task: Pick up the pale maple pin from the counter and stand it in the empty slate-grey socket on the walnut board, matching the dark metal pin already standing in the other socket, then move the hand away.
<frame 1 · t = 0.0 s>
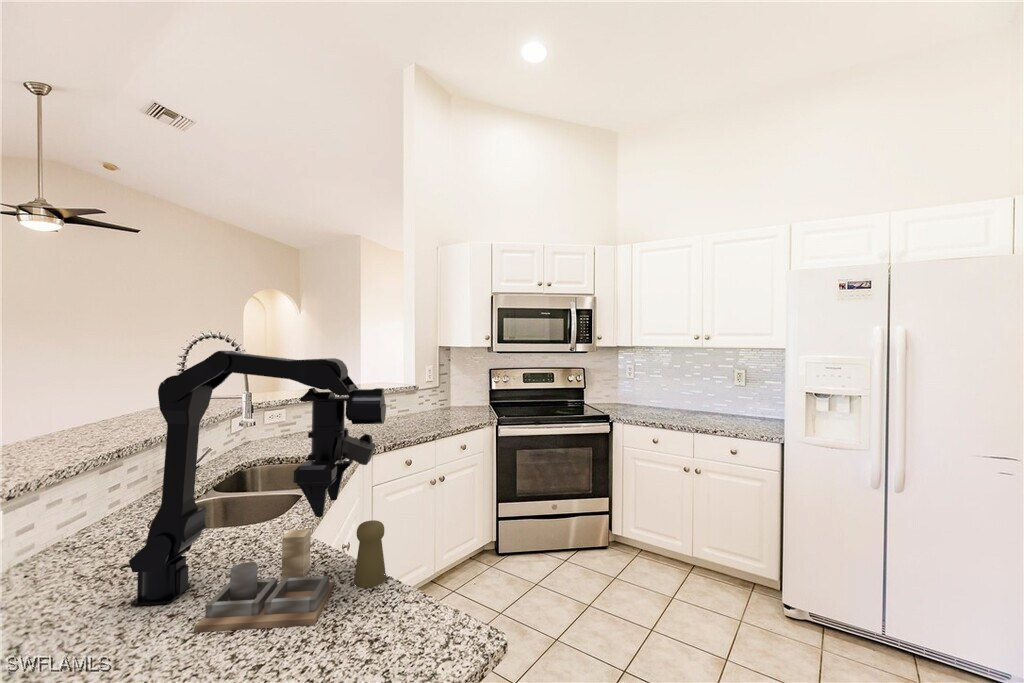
hand: (327, 508, 85), 15 cm above the worktop, tool pointing down, fingers open, 9 cm apart
layout board: (271, 607, 78), on the worktop
maple pin: (296, 574, 90), on the worktop
olive green peg figure: (370, 581, 87), on the worktop
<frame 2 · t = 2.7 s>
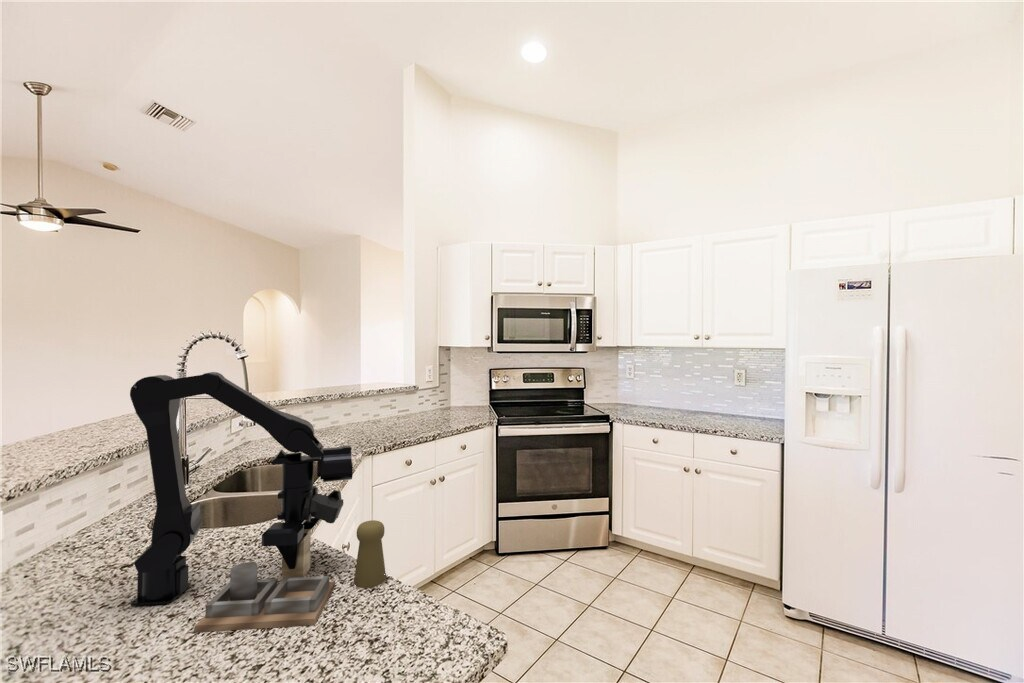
hand: (296, 563, 90), 2 cm above the worktop, tool pointing down, fingers closed on maple pin, 4 cm apart
maple pin: (296, 574, 90), on the worktop, touching gripper
everything else where it was.
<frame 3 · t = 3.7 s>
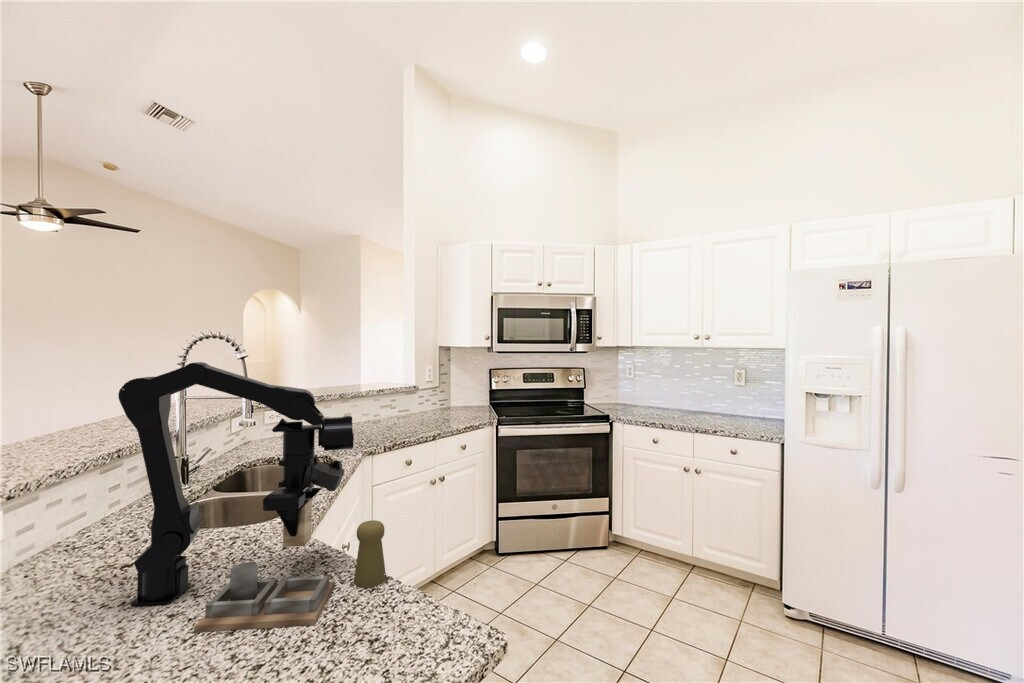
hand: (297, 531, 90), 8 cm above the worktop, tool pointing down, fingers closed on maple pin, 4 cm apart
maple pin: (297, 542, 90), point 6 cm above the worktop, touching gripper
everything else where it was.
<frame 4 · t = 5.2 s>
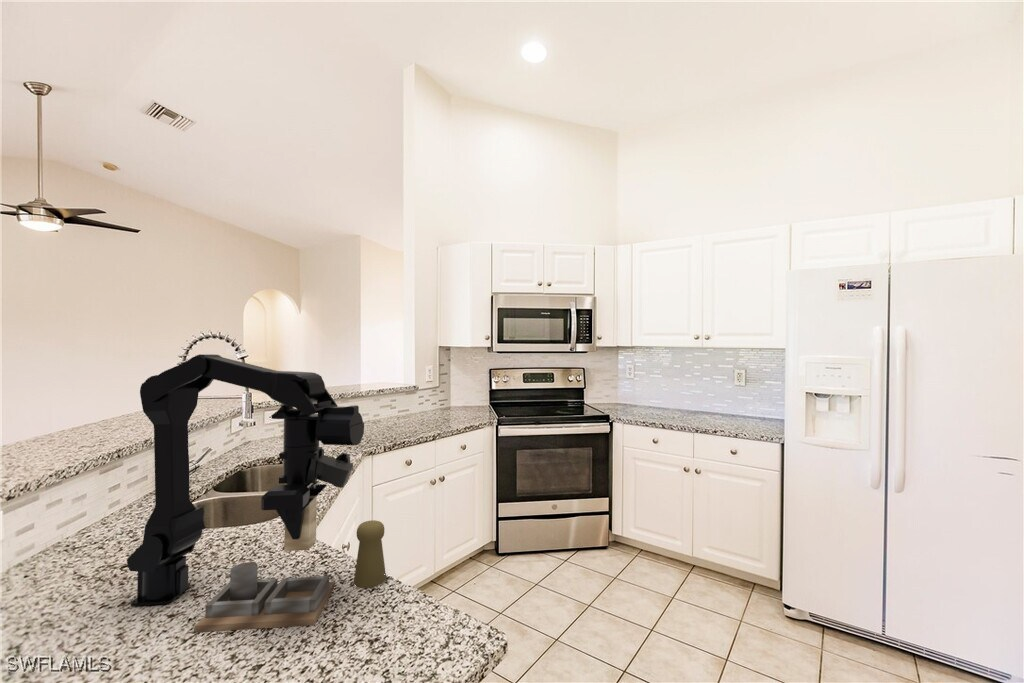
hand: (300, 533, 79), 12 cm above the worktop, tool pointing down, fingers closed on maple pin, 4 cm apart
maple pin: (300, 545, 79), point 10 cm above the worktop, touching gripper
everything else where it was.
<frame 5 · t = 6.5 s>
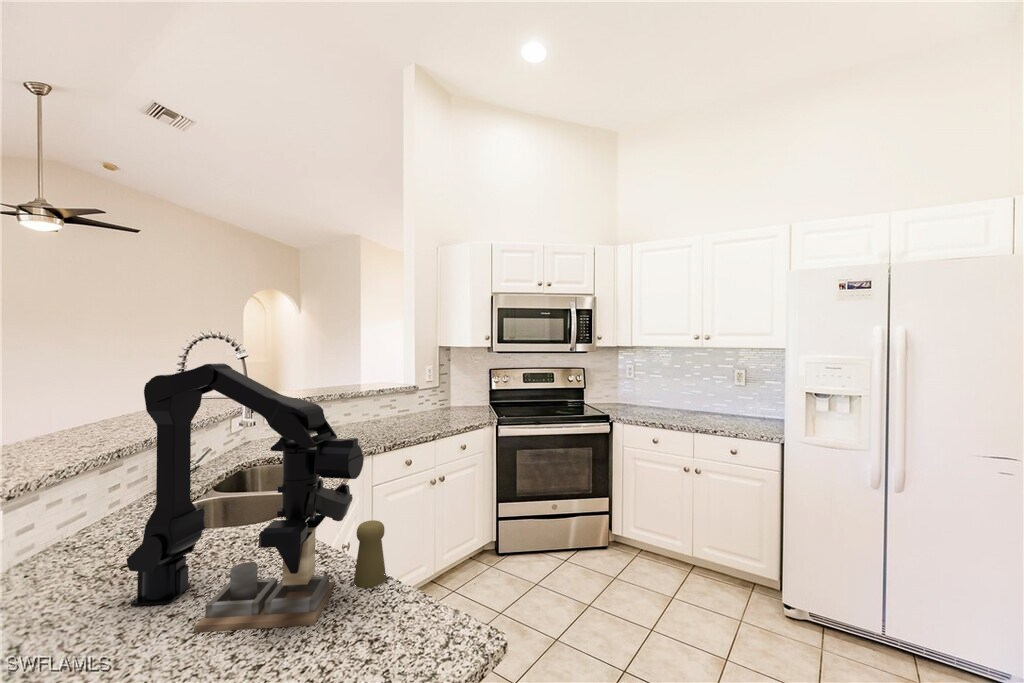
hand: (298, 567, 79), 7 cm above the worktop, tool pointing down, fingers closed on maple pin, 4 cm apart
maple pin: (298, 579, 79), point 5 cm above the worktop, touching gripper
everything else where it was.
when the fingers open (4 cm above the worktop, at t = 7.8 s): maple pin drops 1 cm, resting on layout board.
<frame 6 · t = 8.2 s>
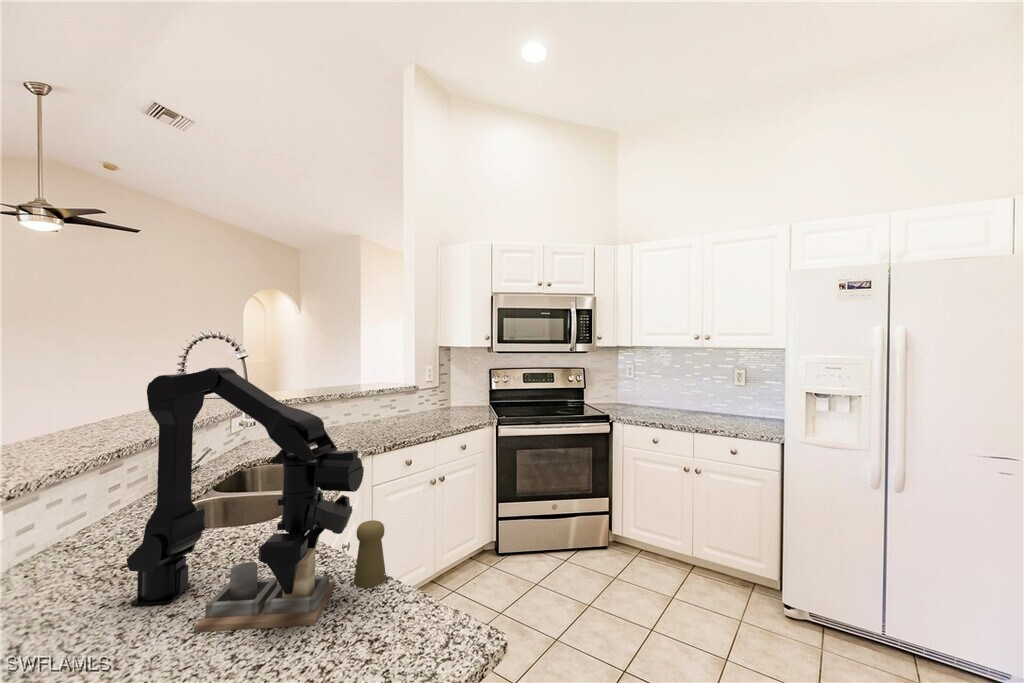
hand: (298, 579, 78), 4 cm above the worktop, tool pointing down, fingers open, 9 cm apart
maple pin: (298, 600, 78), point 1 cm above the worktop, touching layout board
everything else where it was.
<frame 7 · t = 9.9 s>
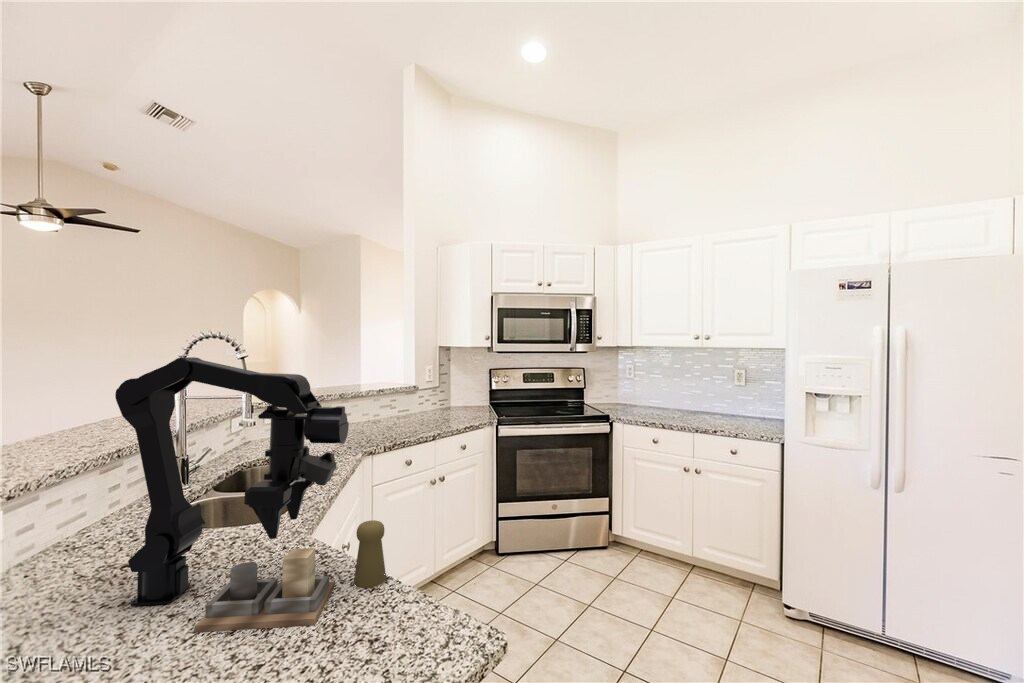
hand: (284, 528, 83), 12 cm above the worktop, tool pointing down, fingers open, 9 cm apart
nothing on the worktop moved.
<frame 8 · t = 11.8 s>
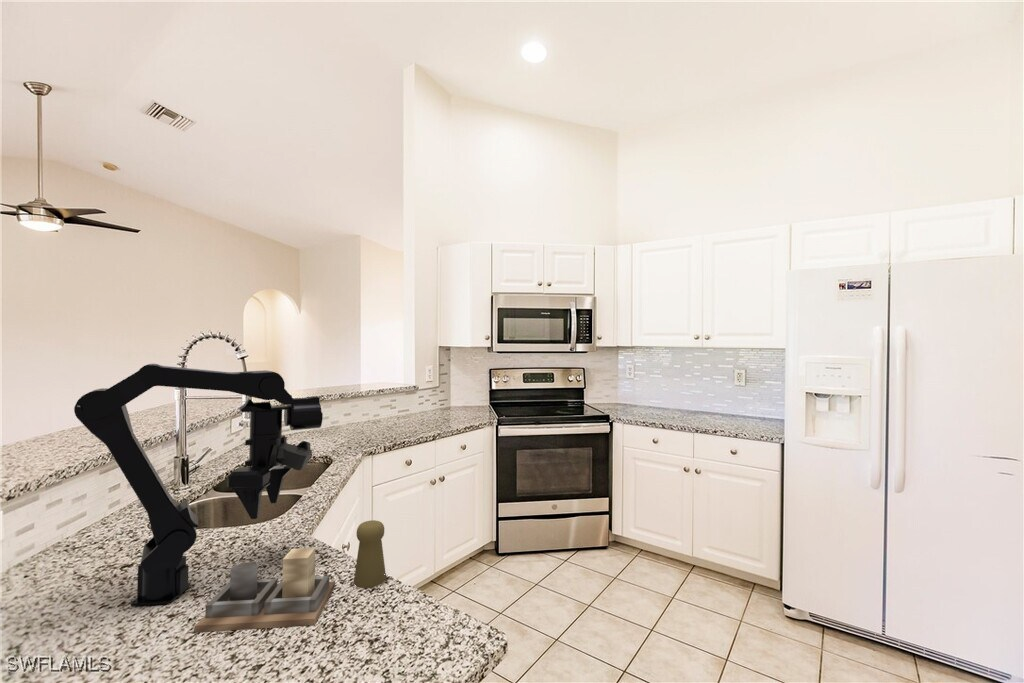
hand: (264, 510, 91), 12 cm above the worktop, tool pointing down, fingers open, 9 cm apart
nothing on the worktop moved.
at the end: maple pin 0.0 cm from the target spot on the layout board, point 1.0 cm above the layout board's base; maple pin tilted 0°; the gripper is holding nothing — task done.
